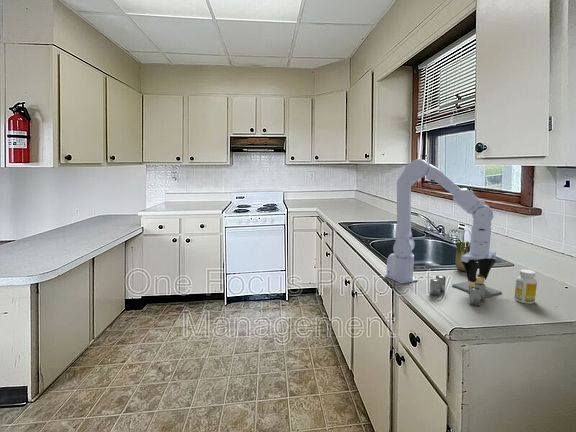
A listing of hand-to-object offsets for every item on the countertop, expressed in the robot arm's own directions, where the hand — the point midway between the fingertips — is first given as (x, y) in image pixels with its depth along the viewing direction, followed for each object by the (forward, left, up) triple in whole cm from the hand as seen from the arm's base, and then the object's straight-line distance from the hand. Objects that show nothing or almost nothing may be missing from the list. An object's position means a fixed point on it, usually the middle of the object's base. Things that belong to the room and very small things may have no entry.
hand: (477, 280), depth 120 cm
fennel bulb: (-17, +15, -4) cm, 23 cm away
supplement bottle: (+13, +5, -4) cm, 14 cm away
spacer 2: (-4, -12, -3) cm, 13 cm away
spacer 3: (+9, -12, -3) cm, 15 cm away
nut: (0, 0, -3) cm, 3 cm away
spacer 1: (-3, -17, -3) cm, 17 cm away
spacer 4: (+7, -7, -3) cm, 10 cm away
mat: (0, 0, -3) cm, 3 cm away
